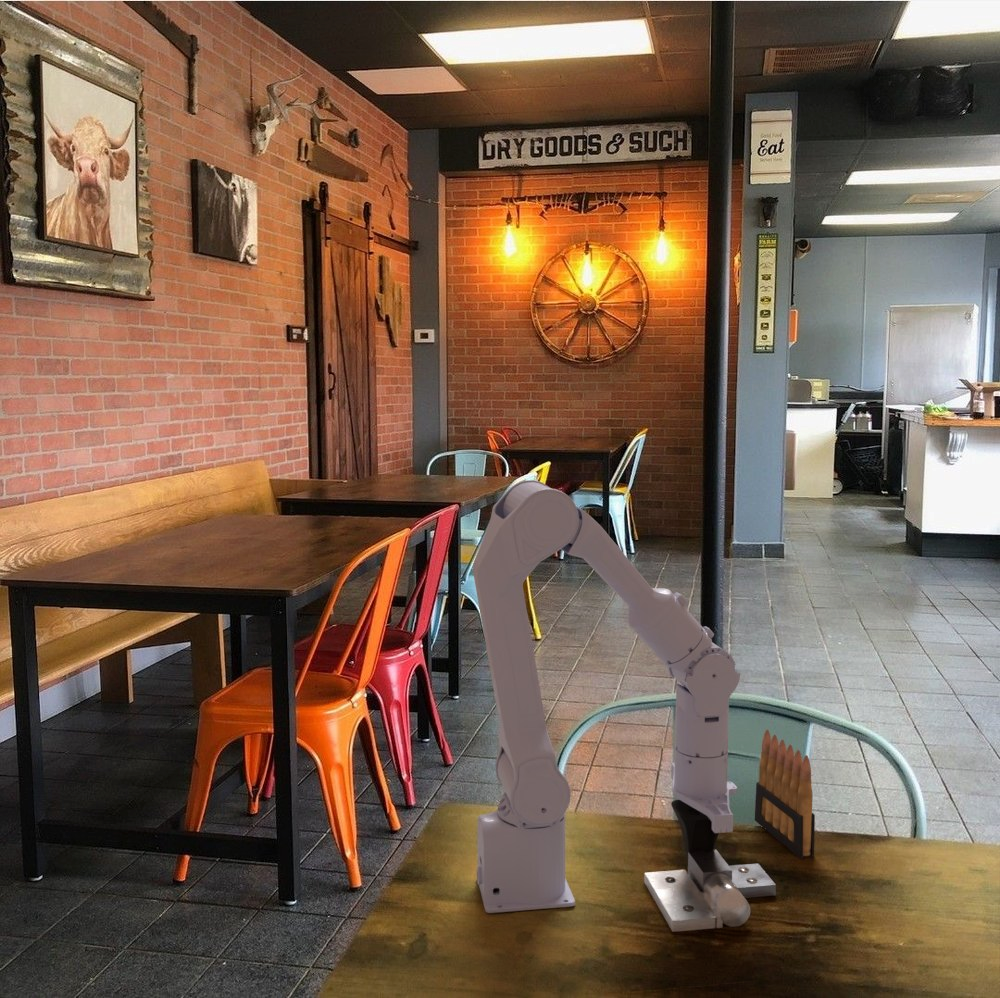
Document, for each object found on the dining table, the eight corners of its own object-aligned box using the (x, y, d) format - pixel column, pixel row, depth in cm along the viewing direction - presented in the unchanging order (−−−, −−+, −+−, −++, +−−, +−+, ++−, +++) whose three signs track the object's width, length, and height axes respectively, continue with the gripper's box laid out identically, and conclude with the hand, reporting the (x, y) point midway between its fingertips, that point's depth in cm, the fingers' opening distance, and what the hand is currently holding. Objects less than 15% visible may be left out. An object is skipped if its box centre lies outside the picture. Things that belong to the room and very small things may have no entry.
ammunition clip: (814, 857, 118) (818, 757, 116) (800, 859, 117) (803, 759, 116) (767, 818, 128) (770, 726, 126) (754, 820, 127) (756, 727, 126)
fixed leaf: (672, 932, 102) (673, 901, 102) (644, 883, 112) (644, 855, 111) (750, 925, 103) (750, 895, 103) (715, 877, 113) (715, 850, 113)
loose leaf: (702, 901, 108) (703, 872, 107) (687, 879, 112) (688, 851, 112) (775, 895, 109) (776, 866, 108) (757, 873, 114) (758, 846, 113)
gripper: (762, 771, 105) (758, 896, 107) (713, 724, 120) (710, 834, 121) (696, 776, 104) (694, 901, 106) (654, 727, 118) (653, 838, 120)
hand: (698, 866), depth 113 cm, fingers closed
